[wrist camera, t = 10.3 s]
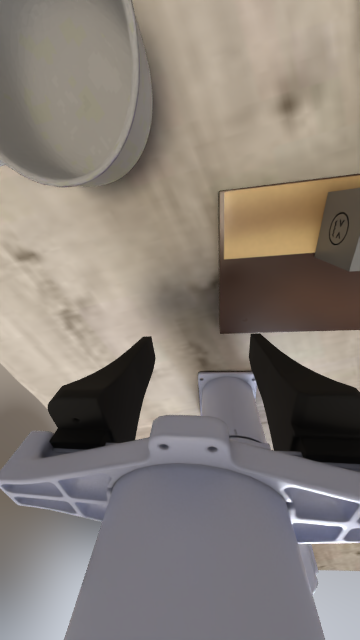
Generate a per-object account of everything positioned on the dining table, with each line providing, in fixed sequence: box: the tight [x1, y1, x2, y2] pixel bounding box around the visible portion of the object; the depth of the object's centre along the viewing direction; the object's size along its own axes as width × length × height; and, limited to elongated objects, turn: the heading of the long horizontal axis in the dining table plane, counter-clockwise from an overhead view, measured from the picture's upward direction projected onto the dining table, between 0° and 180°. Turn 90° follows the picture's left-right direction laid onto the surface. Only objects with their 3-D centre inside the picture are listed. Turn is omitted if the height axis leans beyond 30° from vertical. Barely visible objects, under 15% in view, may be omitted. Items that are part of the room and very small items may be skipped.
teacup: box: [0, 0, 153, 187], centre depth 13 cm, size 14×11×8 cm
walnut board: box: [218, 174, 360, 334], centre depth 19 cm, size 14×22×2 cm, turn 96°
